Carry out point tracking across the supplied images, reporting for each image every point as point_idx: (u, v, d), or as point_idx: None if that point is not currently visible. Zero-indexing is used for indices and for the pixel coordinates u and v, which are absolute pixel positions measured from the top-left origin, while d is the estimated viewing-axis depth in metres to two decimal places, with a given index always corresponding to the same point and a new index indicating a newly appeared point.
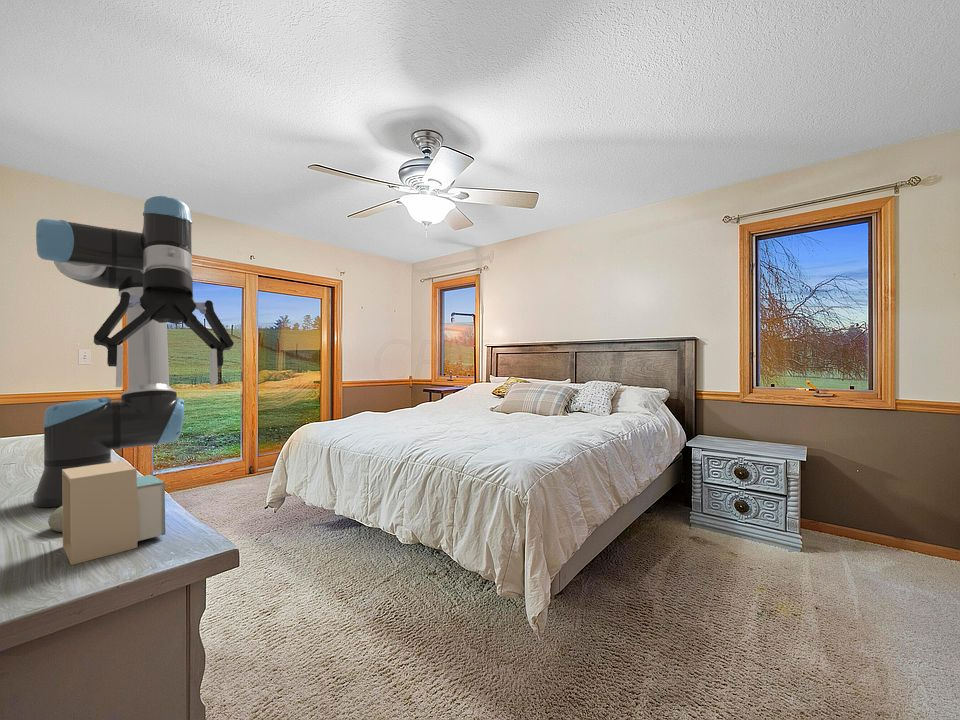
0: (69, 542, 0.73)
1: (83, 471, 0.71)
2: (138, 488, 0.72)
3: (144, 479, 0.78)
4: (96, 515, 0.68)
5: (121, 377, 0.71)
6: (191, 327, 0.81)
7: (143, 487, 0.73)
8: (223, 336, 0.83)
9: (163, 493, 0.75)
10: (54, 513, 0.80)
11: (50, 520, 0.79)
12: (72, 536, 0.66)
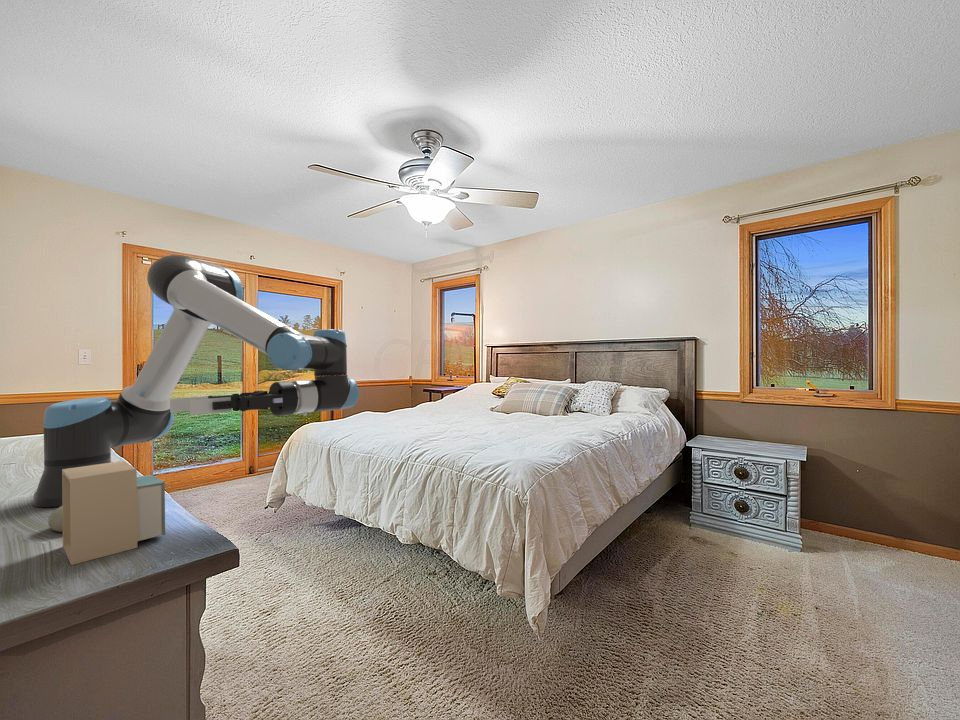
0: (69, 542, 0.73)
1: (83, 471, 0.71)
2: (138, 488, 0.72)
3: (144, 479, 0.78)
4: (96, 515, 0.68)
5: None
6: None
7: (143, 487, 0.73)
8: None
9: (163, 493, 0.75)
10: (54, 513, 0.80)
11: (50, 520, 0.79)
12: (72, 536, 0.66)
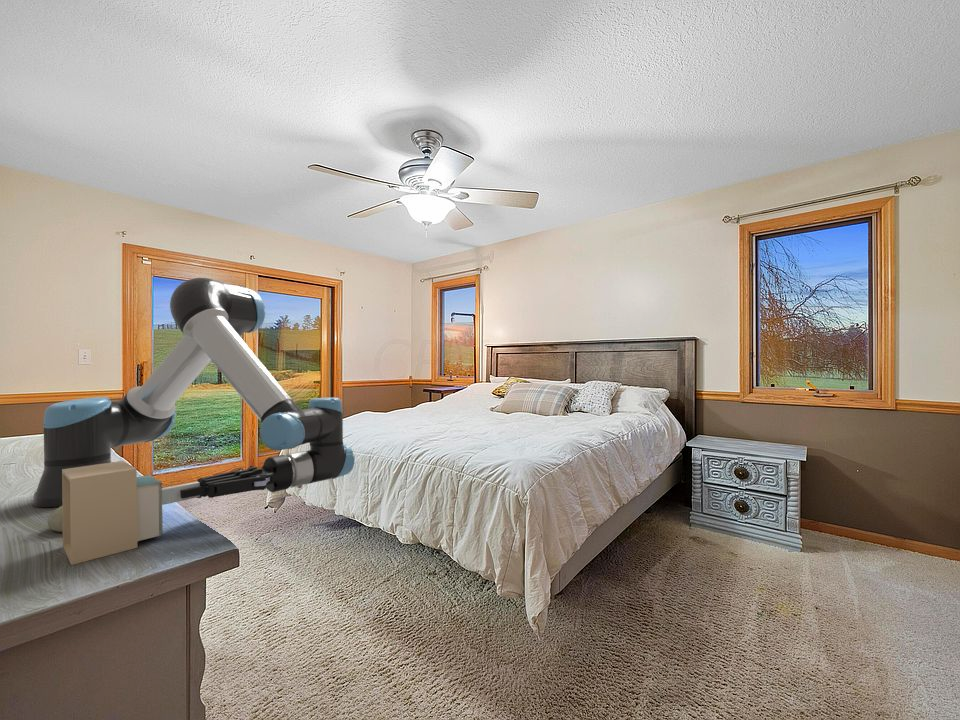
0: (69, 542, 0.73)
1: (83, 471, 0.71)
2: None
3: (141, 479, 0.77)
4: (96, 515, 0.68)
5: (163, 503, 0.78)
6: None
7: (140, 487, 0.73)
8: None
9: (160, 494, 0.75)
10: (53, 513, 0.80)
11: (49, 520, 0.79)
12: (72, 536, 0.66)
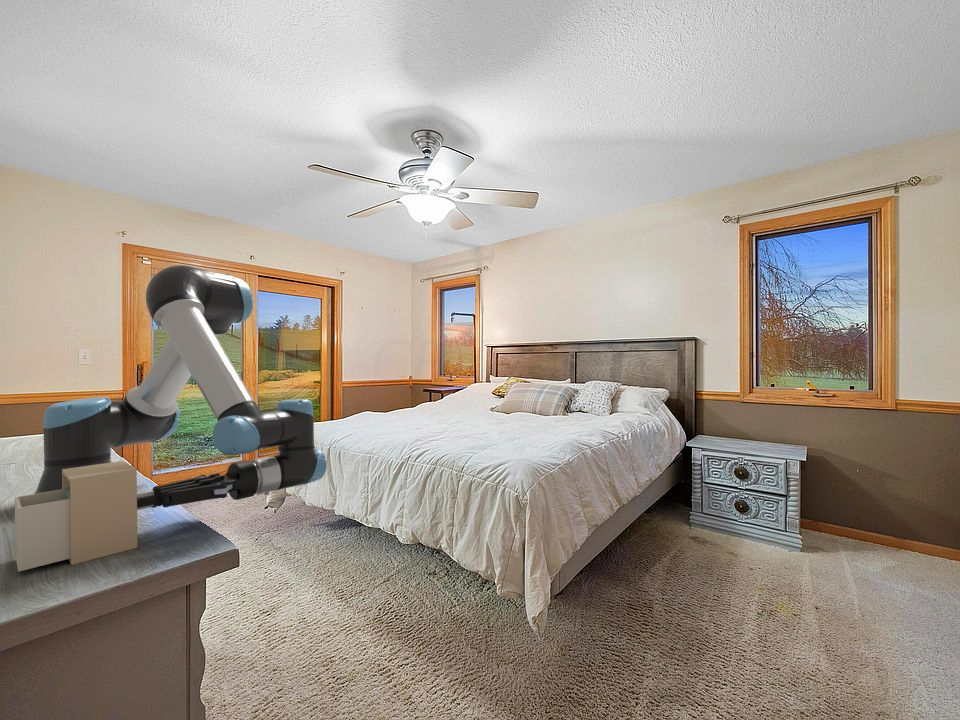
0: None
1: (83, 471, 0.71)
2: None
3: None
4: (96, 515, 0.68)
5: None
6: None
7: None
8: None
9: None
10: None
11: None
12: (72, 536, 0.66)
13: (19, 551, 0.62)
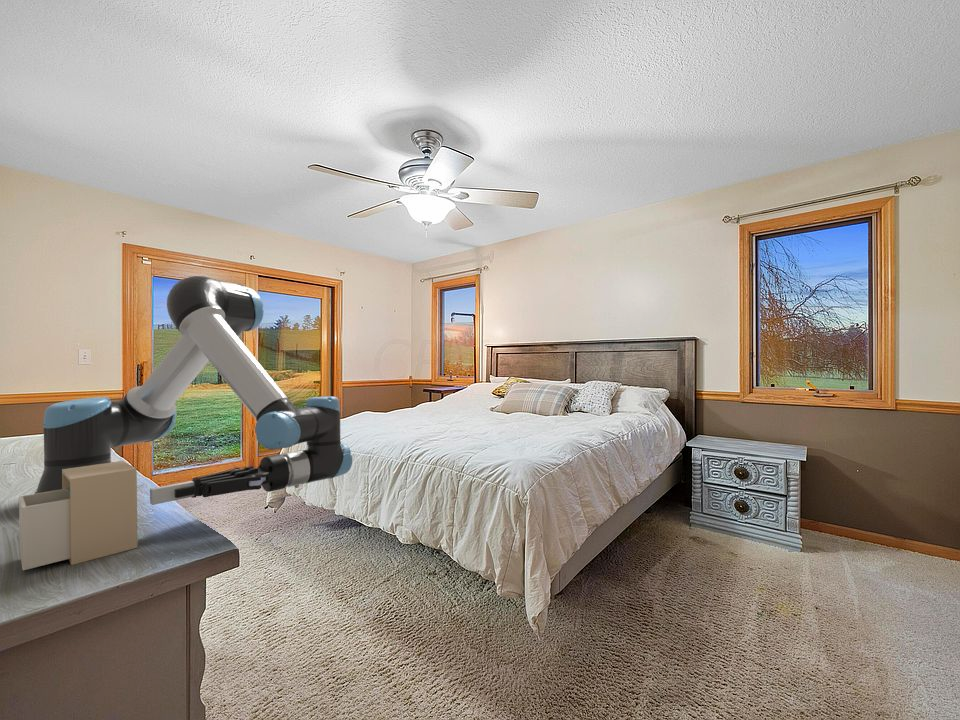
0: None
1: (83, 471, 0.71)
2: None
3: None
4: (96, 515, 0.68)
5: None
6: None
7: None
8: None
9: None
10: None
11: None
12: (72, 536, 0.66)
13: (24, 550, 0.62)
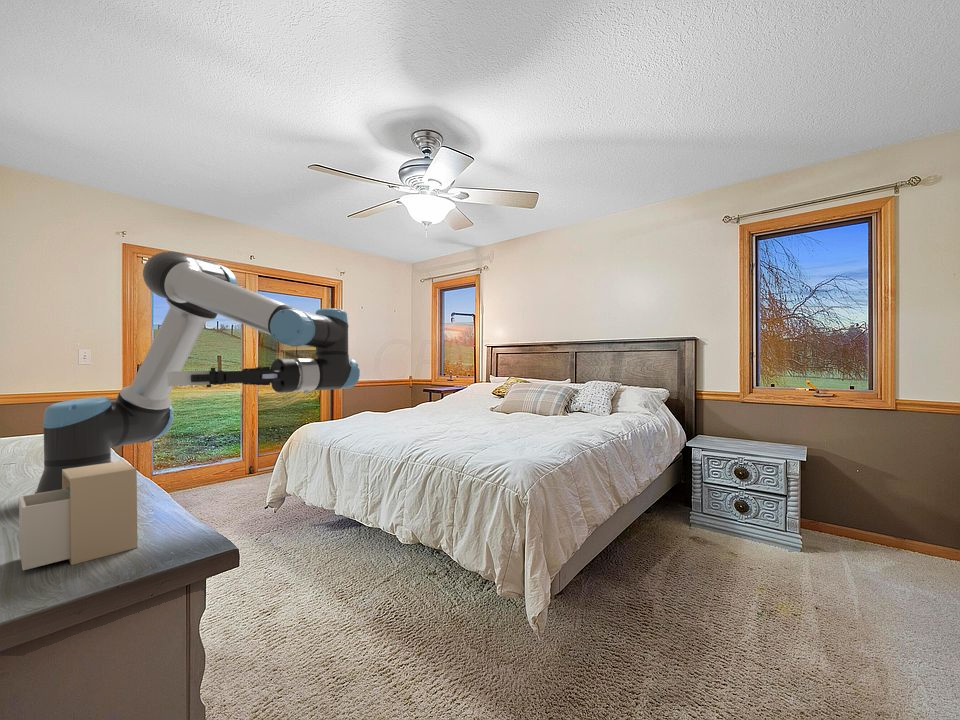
0: None
1: (83, 471, 0.71)
2: None
3: None
4: (96, 515, 0.68)
5: (174, 385, 0.81)
6: None
7: None
8: None
9: None
10: None
11: None
12: (72, 536, 0.66)
13: (24, 550, 0.62)
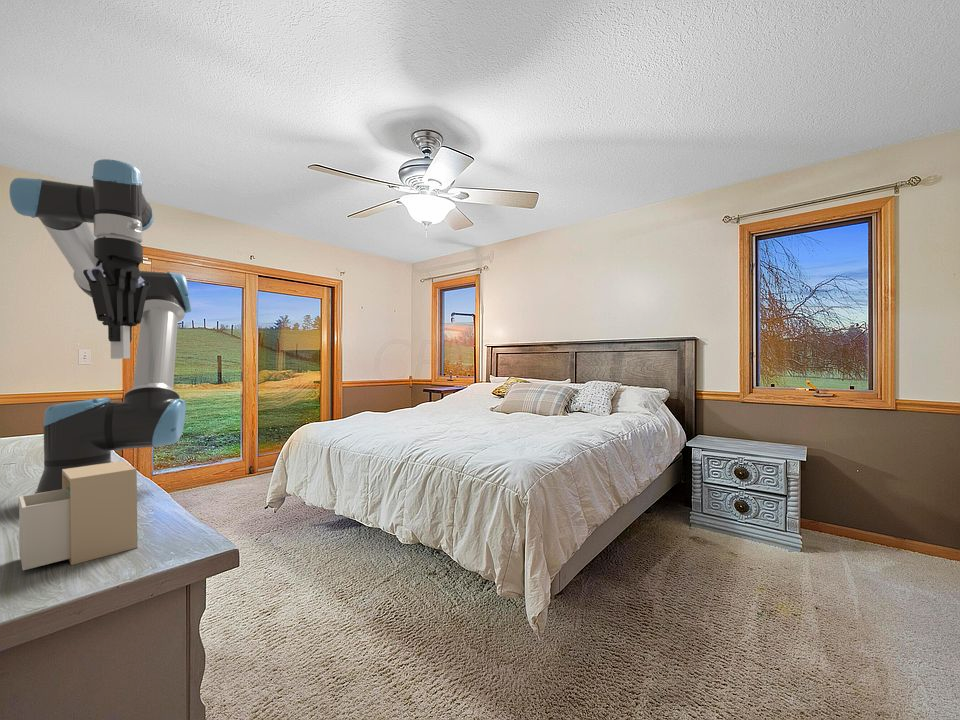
0: None
1: (83, 471, 0.71)
2: None
3: None
4: (96, 515, 0.68)
5: (126, 353, 0.86)
6: None
7: None
8: (138, 312, 0.90)
9: None
10: None
11: None
12: (72, 536, 0.66)
13: (24, 550, 0.62)
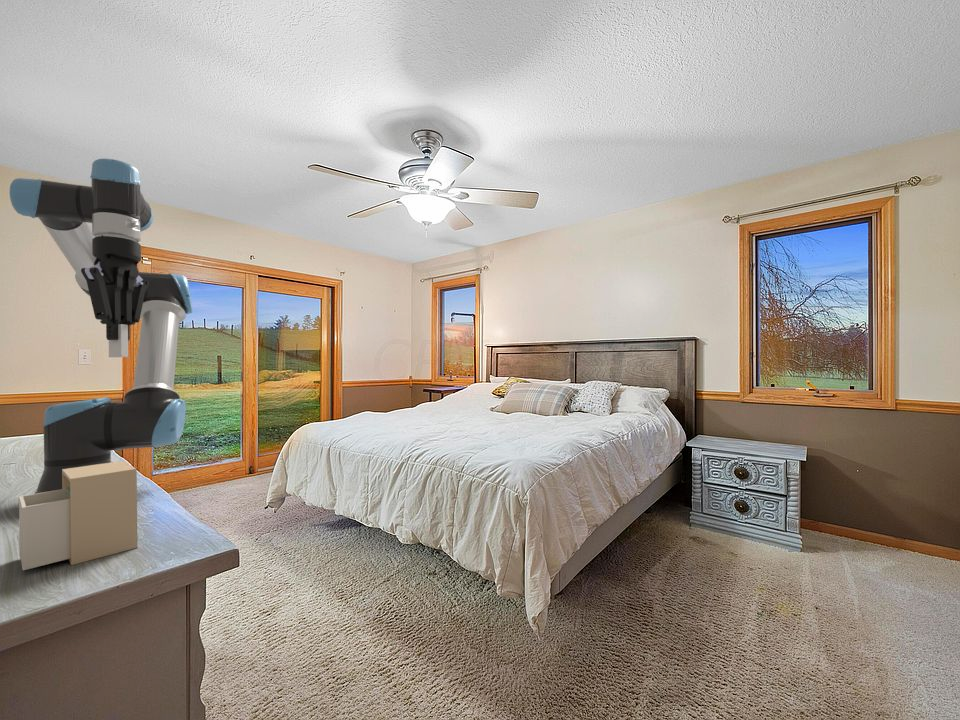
0: None
1: (83, 471, 0.71)
2: None
3: None
4: (96, 515, 0.68)
5: (124, 352, 0.86)
6: None
7: None
8: (136, 311, 0.90)
9: None
10: None
11: None
12: (72, 536, 0.66)
13: (24, 550, 0.62)
